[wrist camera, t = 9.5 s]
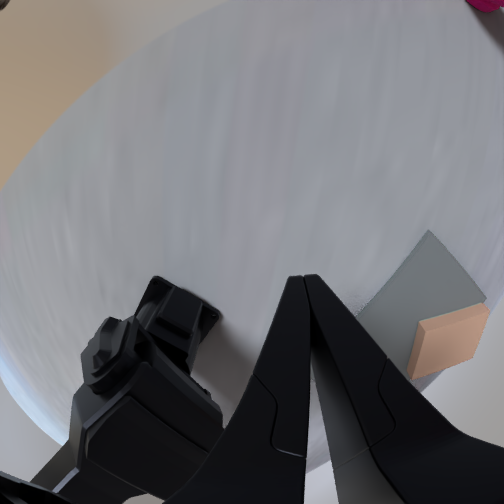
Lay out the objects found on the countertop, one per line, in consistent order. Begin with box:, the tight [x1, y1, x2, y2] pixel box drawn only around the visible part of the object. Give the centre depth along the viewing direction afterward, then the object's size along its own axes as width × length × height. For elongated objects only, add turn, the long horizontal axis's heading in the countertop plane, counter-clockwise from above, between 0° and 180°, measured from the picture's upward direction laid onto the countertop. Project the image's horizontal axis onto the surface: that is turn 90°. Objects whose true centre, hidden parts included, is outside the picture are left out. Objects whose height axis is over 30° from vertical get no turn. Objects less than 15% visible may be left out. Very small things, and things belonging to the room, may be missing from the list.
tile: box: [407, 303, 490, 380], centre depth 23 cm, size 2×7×9 cm
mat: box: [310, 230, 487, 381], centre depth 24 cm, size 18×13×1 cm
